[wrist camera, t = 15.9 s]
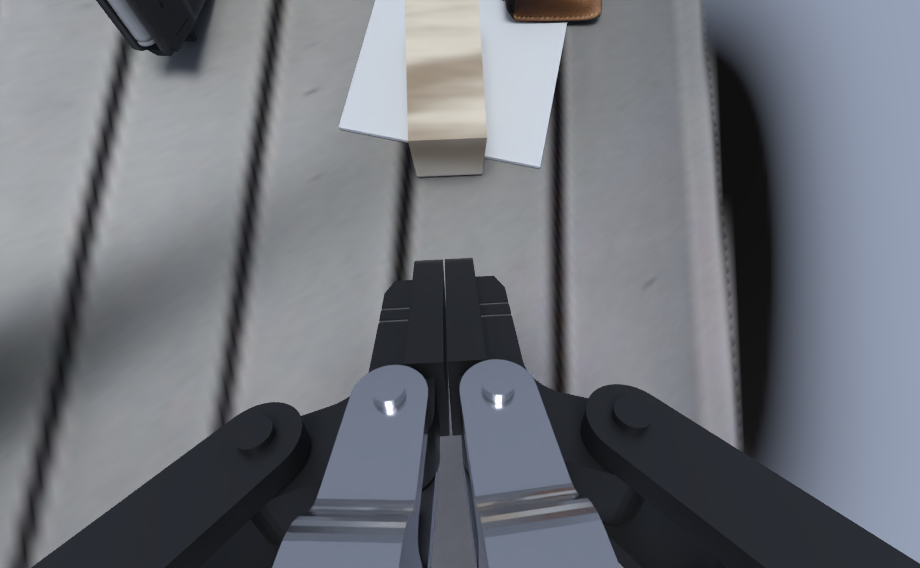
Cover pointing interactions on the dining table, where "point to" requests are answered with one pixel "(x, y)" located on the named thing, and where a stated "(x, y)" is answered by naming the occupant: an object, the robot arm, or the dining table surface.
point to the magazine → (154, 22)
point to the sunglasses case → (553, 10)
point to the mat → (504, 73)
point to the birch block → (445, 87)
